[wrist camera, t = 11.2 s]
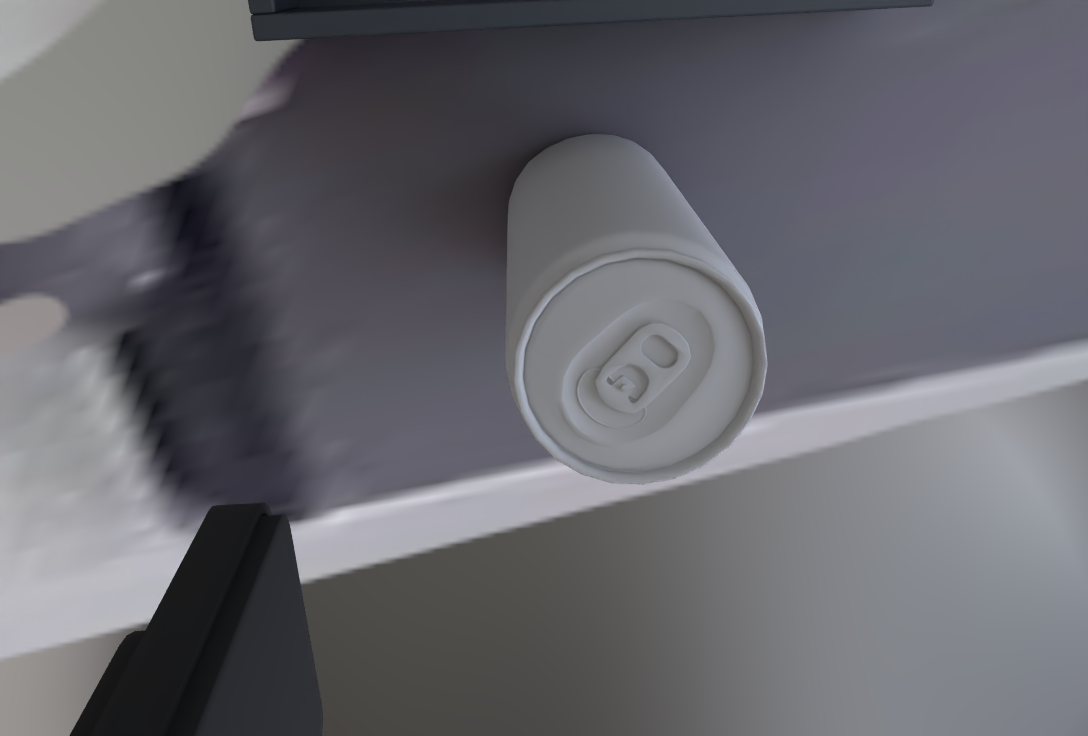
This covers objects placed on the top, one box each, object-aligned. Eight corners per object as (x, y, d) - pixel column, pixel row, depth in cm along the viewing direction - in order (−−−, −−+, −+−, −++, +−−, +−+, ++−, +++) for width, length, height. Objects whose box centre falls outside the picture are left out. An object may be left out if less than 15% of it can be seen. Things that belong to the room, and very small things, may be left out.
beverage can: (473, 220, 28) (448, 386, 17) (585, 91, 27) (635, 182, 16) (595, 322, 30) (644, 537, 19) (706, 204, 28) (832, 360, 17)
